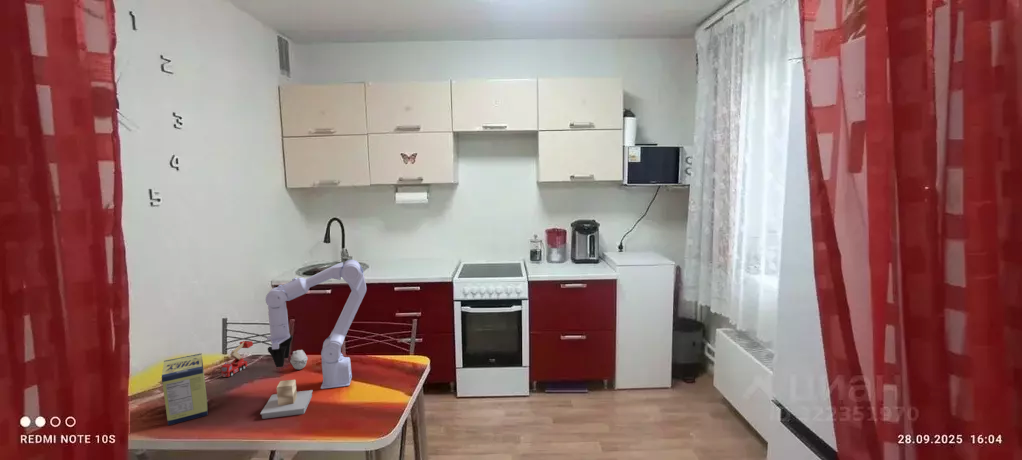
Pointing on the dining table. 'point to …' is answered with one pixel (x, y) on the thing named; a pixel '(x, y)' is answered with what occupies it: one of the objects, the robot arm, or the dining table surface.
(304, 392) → the thin white square tile
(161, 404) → the dining table surface
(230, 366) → the toy fire truck
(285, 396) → the birch block
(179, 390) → the protein box
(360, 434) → the dining table surface
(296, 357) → the white rounded lump
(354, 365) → the dining table surface
